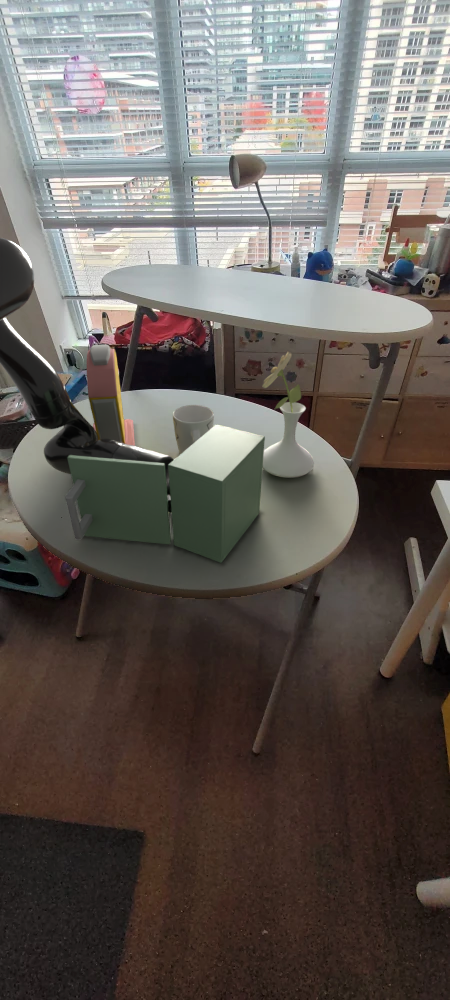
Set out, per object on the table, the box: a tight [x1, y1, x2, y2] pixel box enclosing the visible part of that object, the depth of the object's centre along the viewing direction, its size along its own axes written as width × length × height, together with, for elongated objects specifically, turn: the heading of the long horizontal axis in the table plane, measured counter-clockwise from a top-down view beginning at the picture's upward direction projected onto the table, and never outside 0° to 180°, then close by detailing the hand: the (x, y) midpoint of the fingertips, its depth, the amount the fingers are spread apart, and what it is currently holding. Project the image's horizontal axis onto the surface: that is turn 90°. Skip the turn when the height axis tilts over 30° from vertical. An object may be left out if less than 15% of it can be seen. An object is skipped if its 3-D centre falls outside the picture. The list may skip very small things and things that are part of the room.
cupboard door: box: [64, 455, 172, 546], centre depth 70 cm, size 6×15×16 cm, turn 82°
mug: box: [172, 404, 215, 455], centre depth 95 cm, size 11×8×10 cm
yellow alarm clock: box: [86, 344, 136, 446], centre depth 97 cm, size 22×9×22 cm, turn 11°
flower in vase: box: [261, 351, 315, 479], centre depth 88 cm, size 13×11×25 cm
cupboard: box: [168, 424, 266, 564], centre depth 75 cm, size 9×15×16 cm, turn 152°
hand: (225, 497), depth 75 cm, fingers open, 6 cm apart
